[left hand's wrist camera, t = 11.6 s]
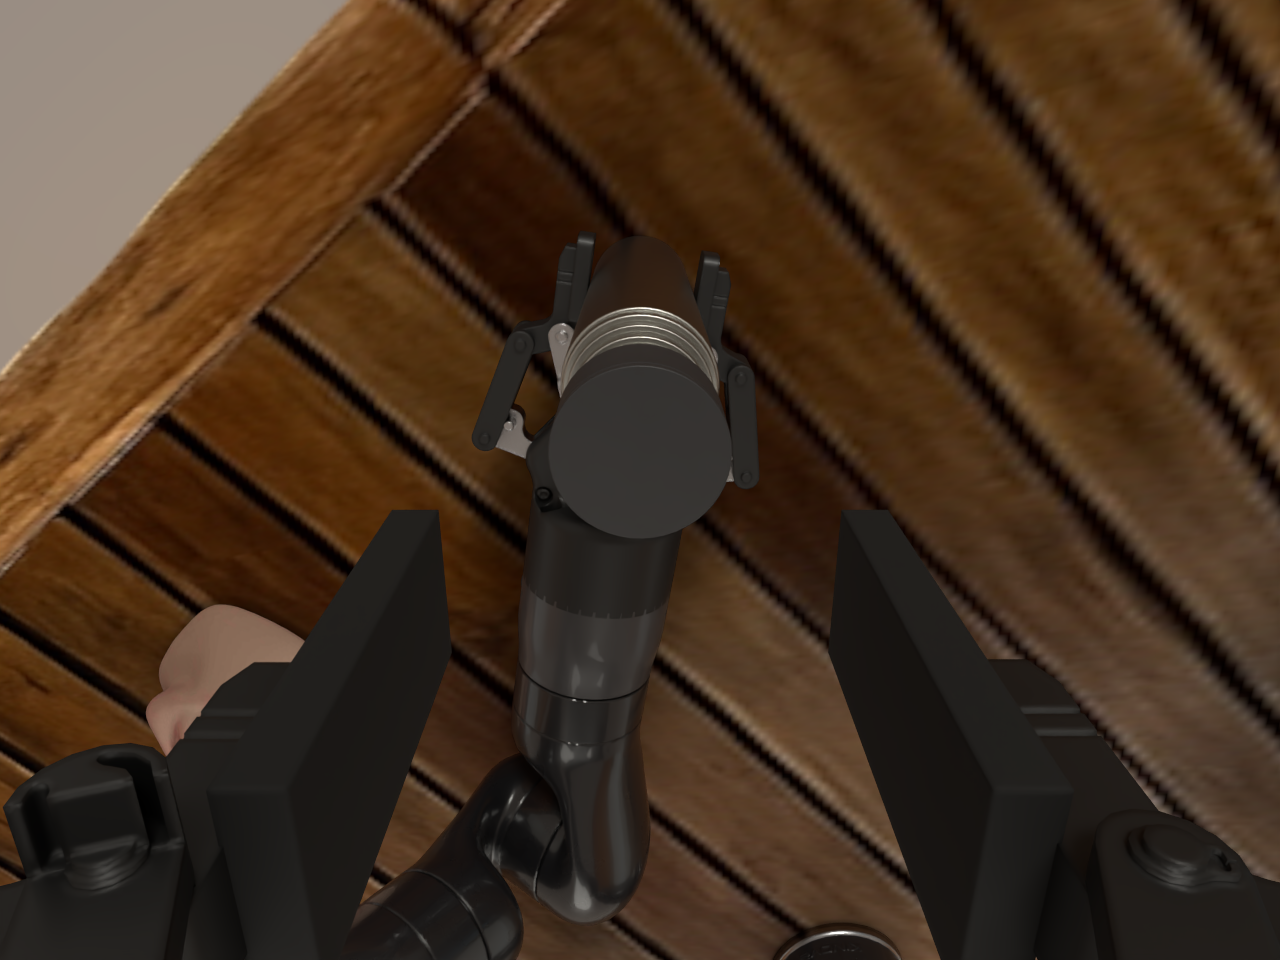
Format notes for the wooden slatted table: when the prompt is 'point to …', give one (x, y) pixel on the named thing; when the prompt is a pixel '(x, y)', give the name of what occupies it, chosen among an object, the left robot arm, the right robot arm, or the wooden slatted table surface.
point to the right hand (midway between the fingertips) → (648, 245)
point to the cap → (640, 442)
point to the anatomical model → (211, 664)
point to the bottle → (639, 308)
